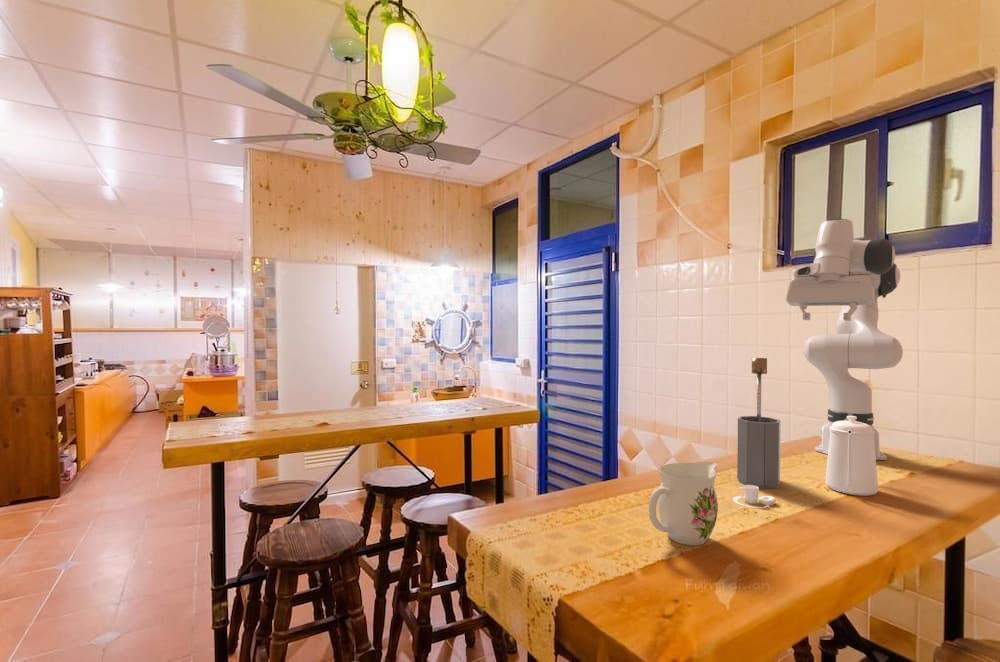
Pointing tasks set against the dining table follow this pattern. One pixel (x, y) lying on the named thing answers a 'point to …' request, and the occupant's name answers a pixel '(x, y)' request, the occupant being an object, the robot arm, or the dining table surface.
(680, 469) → the pitcher
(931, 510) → the dining table surface
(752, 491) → the teacup and saucer
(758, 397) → the plunger
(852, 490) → the coffeepot
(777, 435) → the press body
